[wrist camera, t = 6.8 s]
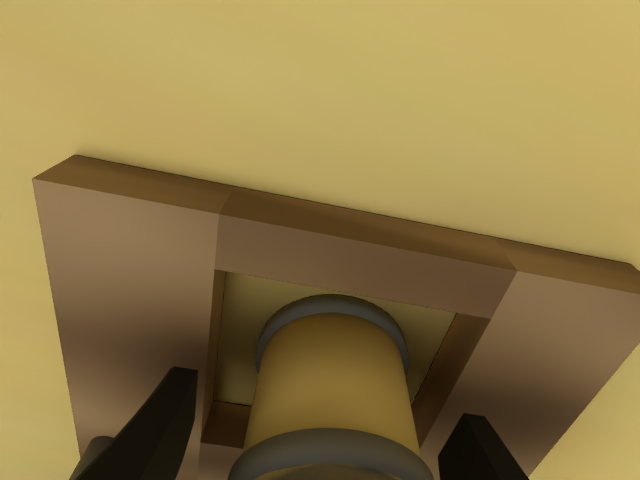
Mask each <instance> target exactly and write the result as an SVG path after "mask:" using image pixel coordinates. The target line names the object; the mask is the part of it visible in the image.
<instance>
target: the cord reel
mask: <svg viewBox="0 0 640 480" xmlns="http://www.w3.org/2000/svg"><path fill="white" fill-rule="evenodd" d="M256 368H257V372H258V379H257V384H256V389H255V394H254V398H253V403H252V408H251V413H250V418H249V423H248V427H247V432H246V437H245V442H244V447H243V452H242V455H241V456H240V457H239V458H238V459H237V460H236V461H235V463H234V464H233V466H232V467H231V470H230V473H229V476H228V480H434V477H433V475H432V472H431V471H430V469H429V467H428V466H427V464H426V463H425V462H424V461H423V460H422V459H421V455H420V450H419V445H418V440H417V435H416V430H415V424H414V419H413V414H412V409H411V404H410V399H409V393H408V388H407V383H406V378H405V377H406V374H407V370H408V354H407V349H406V344H405V340H404V337H403V333H402V331H401V329H400V327H399V326H398V324H397V323H396V322H395V320H394V319H393V318H392V317H391V316H390V315H389V314H388V313H387V312H385V311H384V310H383V309H381V308H380V307H378V306H376V305H374V304H373V303H370V302H368V301H366V300H363V299H360V298H356V297H353V296H347V295H339V294H322V295H315V296H309V297H306V298H302V299H299V300H296V301H294V302H292V303H290V304H288V305H286V306H284V307H283V308H281V309H280V310H278V311H277V312H276V313H275V314H274V315H273V316H272V317H271V318H270V319H269V320H268V322H267V323H266V324H265V326H264V328H263V330H262V332H261V335H260V339H259V343H258V347H257V352H256Z"/></svg>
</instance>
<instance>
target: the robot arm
mask: <svg viewBox="0 0 640 480" xmlns="http://www.w3.org/2000/svg"><path fill="white" fill-rule="evenodd" d="M197 380H198V370H195V369H188V368H182V367H176V366H174V367H172V368H170V370H169V371H168V372H167V374H166V375H165V377H164V378H163V379H162V381H161V382H160V383H159V385H158V386H157V387H156V389H155V390H154V391H153V393H152V394H151V395H150V396H149V398H148V399H147V400H146V401H145V403H144V404H143V405H142V406H141V407H140V409H139V410H138V411H137V412H136V413H135V415H134V416H133V417H132V418H131V419H130V420H129V422H128V423H127V424H126V425H125V426H124V427H123V428H122V430H121V431H120V432H119V433H118V434H117V435H116V436H115V437H114V439H113V440H112V441H111V442H110V443H109V444H108V445H107V446H106V447H105V449H104V450H103V451H102V452H101V453H100V454H99V455H98V456H97V457H96V458H95V459H94V460H93V461H92V462H91V463H90V464H89V465H88V466H87V467H86V468H85V469H84V470H83V471H82V472H81V474H80V475H79V476H78V477H77V478H76V479H75V480H175V479H176V477H177V474H178V471H179V469H180V466H181V464H182V461H183V458H184V455H185V451H186V448H187V445H188V441H189V438H190V435H191V431H192V428H193V424H194V421H195V410H196V395H197ZM438 466H439V475H440V480H529V478H528V477H527V476H526V474H525V473H524V471H523V470H522V468H521V467H520V466H519V464H518V463H517V461H516V460H515V458H514V457H513V456H512V454H511V453H510V451H509V450H508V448H507V447H506V446H505V444H504V443H503V441H502V440H501V438H500V437H499V435H498V434H497V433H496V431H495V430H494V428H493V427H492V425H491V424H490V423H489V421H488V420H487V418H486V417H485V416H480V415H474V414H468V413H463V414H462V416H461V418H460V420H459V421H458V423H457V425H456V426H455V428H454V430H453V431H452V433H451V435H450V436H449V438H448V440H447V441H446V443H445V445H444V446H443V448H442V450H441V451H440V453H439V455H438Z"/></svg>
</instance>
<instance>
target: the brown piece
mask: <svg viewBox="0 0 640 480" xmlns="http://www.w3.org/2000/svg"><path fill="white" fill-rule="evenodd" d="M32 182H33V187H34V193H35V199H36V205H37V210H38V216H39V222H40V228H41V233H42V239H43V245H44V251H45V256H46V262H47V268H48V274H49V279H50V285H51V291H52V297H53V302H54V308H55V314H56V320H57V325H58V331H59V337H60V343H61V348H62V354H63V360H64V366H65V371H66V377H67V383H68V389H69V394H70V400H71V406H72V412H73V417H74V423H75V429H76V435H77V440H78V446H79V452H80V458H81V459H80V461H79V463H78V464H77V466H76V468H75V470H74V472H73V473H72V475H71V477H70V479H69V480H75V479H76V478H77V477H78V476H79V475H80V474H81V472H82V471H83V470H84V469H85V468H86V467H87V466H88V465H89V464H90V463H91V462H92V461H93V460H94V459H95V458H96V457H97V456H98V455H99V454H100V453H101V452H102V451H103V450H104V449H105V447H106V446H107V445H108V444H109V443H110V442H111V441H112V440H113V439H114V437H115V436H116V435H117V434H118V433H119V432H120V431H121V430H122V428H123V427H124V426H125V425H126V424H127V423H128V422H129V420H130V419H131V418H132V417H133V416H134V415H135V413H136V412H137V411H138V410H139V409H140V407H141V406H142V405H143V404H144V403H145V401H146V400H147V399H148V398H149V396H150V395H151V394H152V393H153V391H154V390H155V389H156V387H157V386H158V385H159V383H160V382H161V381H162V379H163V378H164V377H165V375H166V374H167V372H168V371H169V370H170V368H172V367H174V366H176V367H182V368H188V369H195V370H198V380H197V395H196V410H195V421H194V424H193V428H192V431H191V435H190V438H189V441H188V445H187V448H186V451H185V455H184V458H183V461H182V464H181V466H180V469H179V471H178V474H177V477H176V479H175V480H228V476H229V473H230V470H231V467H232V466H233V464H234V463H235V461H236V460H237V459H238V458H239V457H240V456H241V455H242V452H243V447H244V442H245V437H246V432H247V427H248V423H249V418H250V413H251V408H252V407H249V406H242V405H236V404H229V403H223V402H217V401H213V396H214V386H215V376H216V366H217V356H218V346H219V336H220V326H221V316H222V306H223V296H224V286H225V276H226V271H228V272H233V273H239V274H244V275H250V276H255V277H261V278H266V279H272V280H278V281H283V282H289V283H294V284H300V285H305V286H311V287H316V288H322V289H327V290H333V291H339V292H344V293H350V294H355V295H361V296H366V297H372V298H377V299H383V300H388V301H394V302H399V303H405V304H411V305H416V306H422V307H427V308H433V309H438V310H444V311H449V312H455V313H457V314H456V316H455V318H454V320H453V322H452V324H451V326H450V328H449V330H448V332H447V334H446V337H445V339H444V341H443V343H442V345H441V347H440V349H439V351H438V353H437V355H436V357H435V359H434V361H433V363H432V365H431V367H430V369H429V371H428V373H427V376H426V378H425V380H424V382H423V384H422V386H421V388H420V390H419V392H418V394H417V396H416V398H415V400H414V402H413V404H412V406H411V409H412V414H413V419H414V424H415V430H416V435H417V440H418V445H419V450H420V455H421V459H422V460H423V461H424V462H425V463H426V464H427V466H428V467H429V469H430V471H431V472H432V475H433V477H434V480H440V475H439V466H438V455H439V453H440V451H441V450H442V448H443V446H444V445H445V443H446V441H447V440H448V438H449V436H450V435H451V433H452V431H453V430H454V428H455V426H456V425H457V423H458V421H459V420H460V418H461V416H462V414H463V413H468V414H474V415H480V416H485V417H486V418H487V420H488V421H489V423H490V424H491V425H492V427H493V428H494V430H495V431H496V433H497V434H498V435H499V437H500V438H501V440H502V441H503V443H504V444H505V446H506V447H507V448H508V450H509V451H510V453H511V454H512V456H513V457H514V458H515V460H516V461H517V463H518V464H519V466H520V467H521V468H522V470H523V471H524V473H525V474H526V476H527V477H529V475H530V474H531V473H532V472H533V471H534V469H535V468H536V467H537V466H538V464H539V463H540V462H541V461H542V460H543V458H544V457H545V456H546V455H547V454H548V452H549V451H550V450H551V449H552V448H553V446H554V445H555V444H556V443H557V442H558V440H559V439H560V438H561V437H562V435H563V434H564V433H565V432H566V431H567V429H568V428H569V427H570V426H571V425H572V423H573V422H574V421H575V420H576V419H577V417H578V416H579V415H580V414H581V413H582V411H583V410H584V409H585V408H586V407H587V405H588V404H589V403H590V402H591V400H592V399H593V398H594V397H595V396H596V394H597V393H598V392H599V391H600V390H601V388H602V387H603V386H604V385H605V384H606V382H607V381H608V380H609V379H610V378H611V376H612V375H613V374H614V373H615V371H616V370H617V369H618V368H619V367H620V365H621V364H622V363H623V362H624V361H625V359H626V358H627V357H628V356H629V355H630V353H631V352H632V351H633V350H634V349H635V347H636V346H637V345H638V344H639V343H640V271H638V270H637V269H636V268H635V267H634V266H633V265H631V264H627V263H622V262H617V261H612V260H607V259H602V258H596V257H591V256H586V255H581V254H576V253H571V252H566V251H561V250H556V249H551V248H546V247H540V246H535V245H530V244H525V243H520V242H515V241H510V240H505V239H500V238H495V237H490V236H484V235H479V234H474V233H469V232H464V231H459V230H454V229H449V228H444V227H439V226H434V225H428V224H423V223H418V222H413V221H408V220H403V219H398V218H393V217H388V216H383V215H378V214H373V213H367V212H362V211H357V210H352V209H347V208H342V207H337V206H332V205H327V204H322V203H317V202H311V201H306V200H301V199H296V198H291V197H286V196H281V195H276V194H271V193H266V192H261V191H255V190H250V189H245V188H240V187H235V186H230V185H225V184H220V183H215V182H210V181H205V180H199V179H194V178H189V177H184V176H179V175H174V174H169V173H164V172H159V171H154V170H149V169H143V168H138V167H133V166H128V165H123V164H118V163H113V162H108V161H103V160H98V159H93V158H88V157H82V156H77V155H73V156H71V157H69V158H68V159H66V160H64V161H62V162H61V163H59V164H57V165H55V166H53V167H52V168H50V169H48V170H46V171H44V172H43V173H41V174H39V175H37V176H36V177H34V178H32Z"/></svg>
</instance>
